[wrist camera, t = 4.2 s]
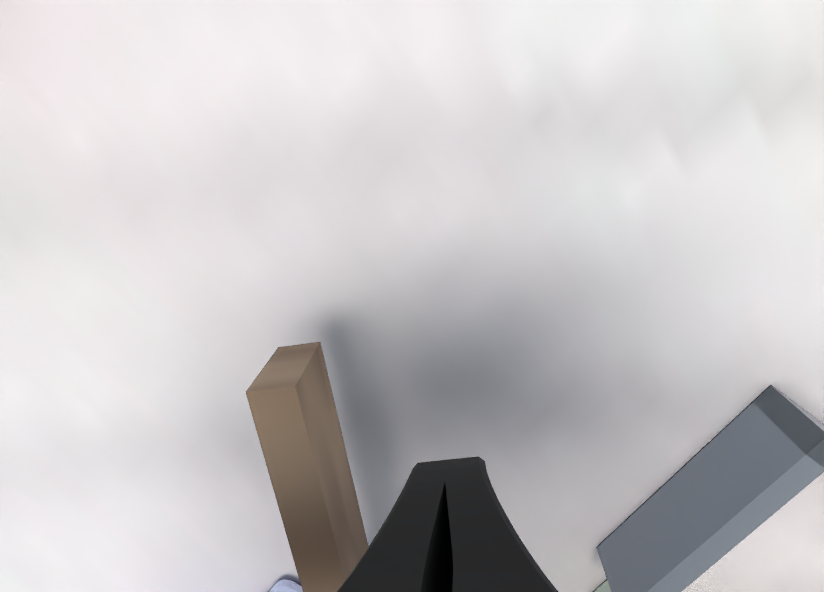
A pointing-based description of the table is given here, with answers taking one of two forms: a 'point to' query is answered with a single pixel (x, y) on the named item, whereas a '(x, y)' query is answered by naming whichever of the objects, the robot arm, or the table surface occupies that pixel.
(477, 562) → the robot arm
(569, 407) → the table surface
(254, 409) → the flipper lever
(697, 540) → the tray
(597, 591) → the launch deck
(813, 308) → the table surface
